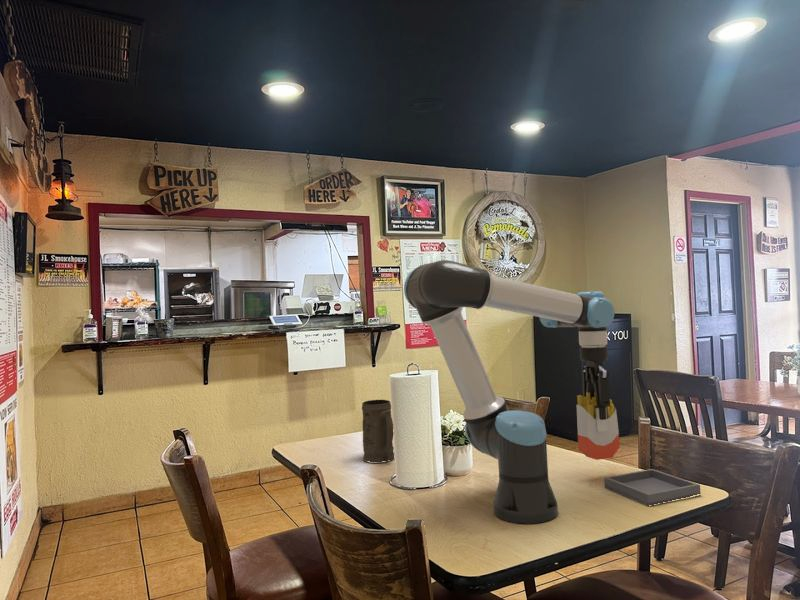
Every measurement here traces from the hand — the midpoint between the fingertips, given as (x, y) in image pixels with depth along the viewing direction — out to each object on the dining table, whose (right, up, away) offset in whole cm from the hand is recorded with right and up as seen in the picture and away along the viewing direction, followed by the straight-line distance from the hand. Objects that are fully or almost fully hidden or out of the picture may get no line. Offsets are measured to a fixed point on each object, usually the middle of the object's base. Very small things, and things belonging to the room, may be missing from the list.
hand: (597, 428), depth 160 cm
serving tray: (+9, -13, -14) cm, 21 cm away
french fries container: (0, -8, 0) cm, 8 cm away
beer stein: (-61, -18, +32) cm, 71 cm away
